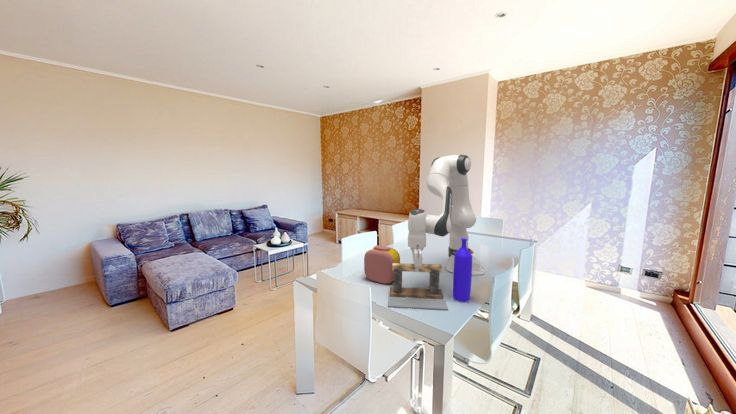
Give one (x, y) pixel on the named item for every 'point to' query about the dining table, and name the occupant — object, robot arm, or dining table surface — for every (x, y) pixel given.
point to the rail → (421, 269)
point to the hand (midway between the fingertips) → (416, 269)
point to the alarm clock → (380, 264)
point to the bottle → (462, 273)
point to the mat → (417, 303)
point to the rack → (416, 292)
